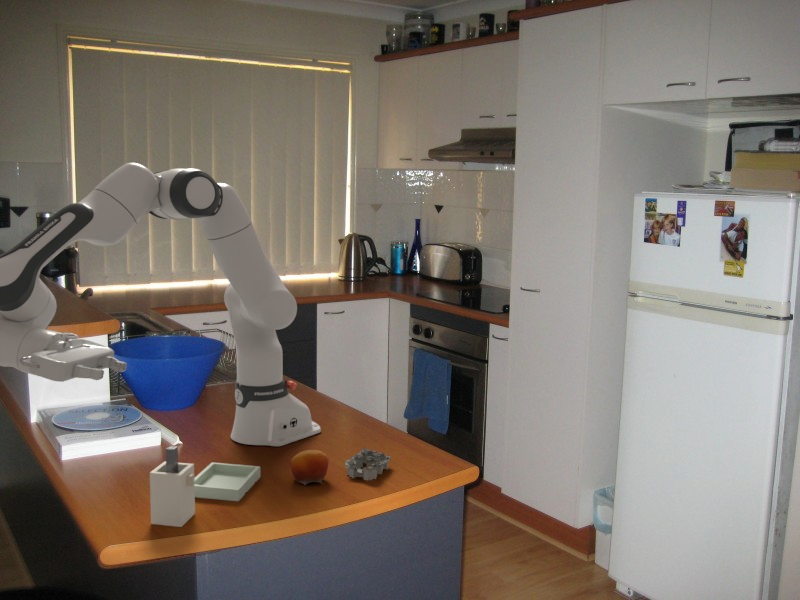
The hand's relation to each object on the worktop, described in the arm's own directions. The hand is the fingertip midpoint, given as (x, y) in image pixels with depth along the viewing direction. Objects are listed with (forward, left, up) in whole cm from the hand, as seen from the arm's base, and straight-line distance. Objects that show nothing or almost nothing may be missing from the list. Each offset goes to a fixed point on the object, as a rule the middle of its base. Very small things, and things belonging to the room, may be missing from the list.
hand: (113, 371), depth 150 cm
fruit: (-37, +11, -28) cm, 48 cm away
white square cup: (-6, +11, -27) cm, 30 cm away
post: (-6, +11, -27) cm, 30 cm away
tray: (-21, +3, -27) cm, 35 cm away
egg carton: (-50, +14, -28) cm, 59 cm away
